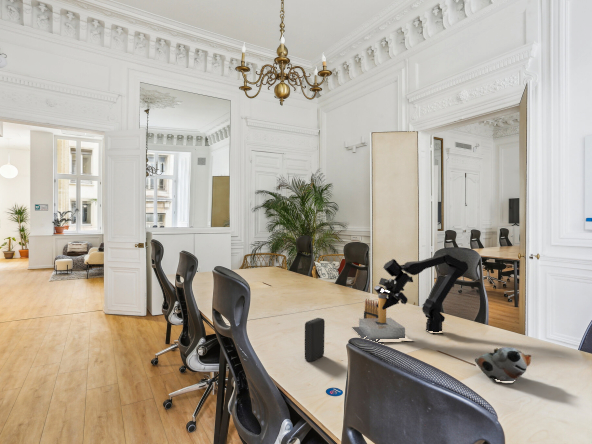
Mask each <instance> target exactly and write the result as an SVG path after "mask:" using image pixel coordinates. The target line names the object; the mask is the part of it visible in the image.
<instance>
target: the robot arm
mask: <svg viewBox="0 0 592 444" xmlns="http://www.w3.org/2000/svg"><path fill="white" fill-rule="evenodd" d="M441 264H442V265H443V264H445V265H447V266H448V268H447V275H446V276H445V277H444V279H443V281H442V282H441V285H440V286H439V287H438V288H437V291H436V292H435V294H434V295H433V297H432V298H426V299H425V301H424V303H423V304H422V308H421V310H422V313H423V314H424V315H425V318H426V322H425V323H426V325H425V329H426V330H428V331H433V332H439V331H442V332H443V323H444V322H445V319H446V317H445V316H444V315H443V314H442V313H441V312H442V310H443V303H444V301H445V300H446V298H447V296H448V295H449V293H450V291H451V289H453V286H454V285H455V283H457V281H458V279H460V278H461V277H462V276H464V275H465V274H466V273H467V271H468V270H469V265H468V263H467V262H466V261H464V260H459V259H458V258H456V257H453V256H451V255H450V254H447V253H440V254H439V255H435V256H432V257H429V258H426V259H422V260H416V261H412V260H411V261H407V262H404V264H399V263H398V262H397V260H396V259H394V258H391V260H388V261H387V262H385V264H384V265H383V268H382V269H383V270H385V271H386V273H388V275H390V277H395V278H389V279H388V278H383V277H380V280H379V282H378V285H376V286H374V289H373V290H374V291H375V292H376V293H377V294H381V293H382V294H387V298H386V302H385V304H384V305H383V307H382V309H383V310H384V309H386V310H387V309H388V308H390V307H393V306H394V305H397V304H400V303H401V304H402V305H406V304H407V303H408V302H409V301H408V297H407V296H406V295H405V294H404V293H403V291H405V289H404V288H405V286H406V284H407V283H414V279H413V276H416V275H418V274H420V273H422V272H424V270H427V269H429V268H432V267H436V266H439V265H441ZM410 275H411V276H410ZM378 301H379V299H378ZM378 301H377V302H378ZM377 307H378V303H377ZM426 330H425V331H426ZM428 331H427V332H428Z"/></svg>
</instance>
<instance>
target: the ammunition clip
mask: <svg viewBox="0 0 592 444" xmlns="http://www.w3.org/2000/svg"><path fill="white" fill-rule="evenodd" d="M367 299H368V300H367ZM377 304H378V301H375V300H372V299H370V298H365V302H364V311H363V318H378V307H377Z"/></svg>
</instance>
